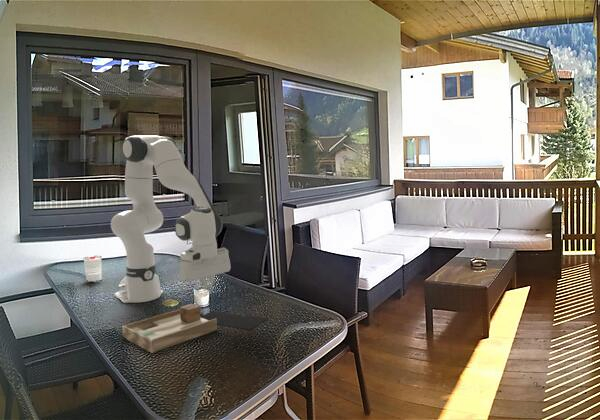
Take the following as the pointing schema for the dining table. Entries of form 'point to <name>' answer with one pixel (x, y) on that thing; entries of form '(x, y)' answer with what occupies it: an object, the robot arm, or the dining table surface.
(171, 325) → the box
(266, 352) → the dining table surface
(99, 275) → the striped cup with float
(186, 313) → the block
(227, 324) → the black flat board
